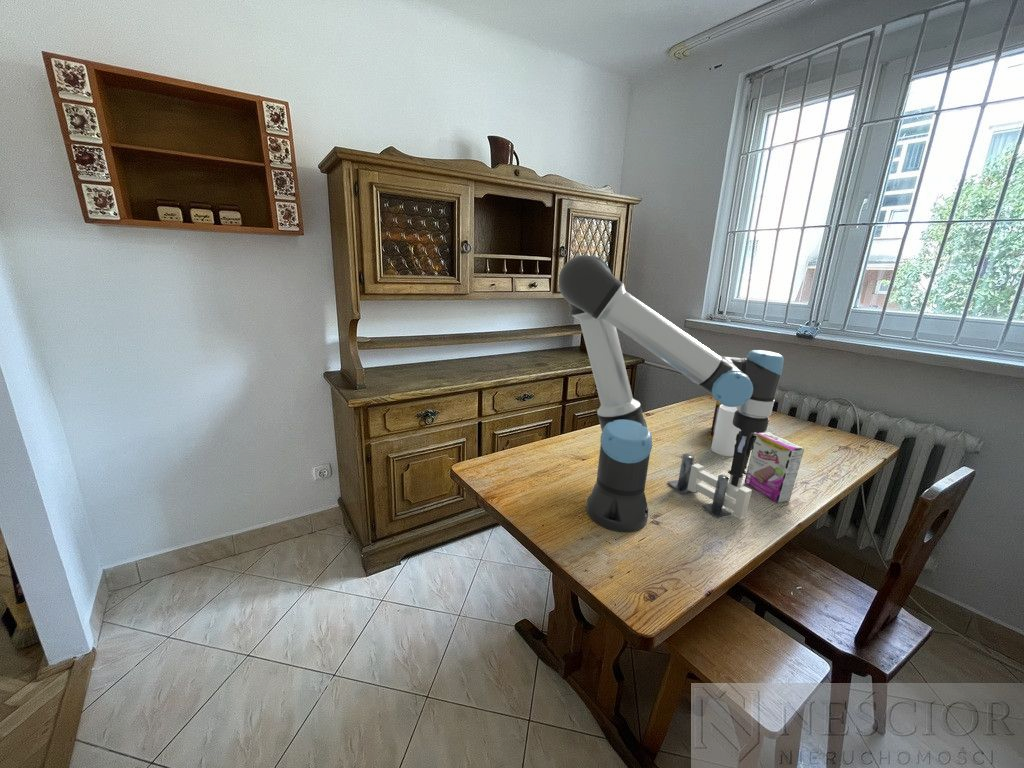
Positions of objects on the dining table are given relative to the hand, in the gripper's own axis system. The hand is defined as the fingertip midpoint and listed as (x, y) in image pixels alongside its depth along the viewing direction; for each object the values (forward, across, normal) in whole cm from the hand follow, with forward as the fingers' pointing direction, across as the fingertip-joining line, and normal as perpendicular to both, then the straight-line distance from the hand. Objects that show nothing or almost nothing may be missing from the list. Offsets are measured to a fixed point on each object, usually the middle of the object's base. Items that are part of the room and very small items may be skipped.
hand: (731, 495), depth 106 cm
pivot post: (+3, -1, -12) cm, 13 cm away
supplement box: (+3, -51, -12) cm, 53 cm away
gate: (+2, +2, -3) cm, 5 cm away
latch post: (+3, +5, -2) cm, 6 cm away
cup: (+3, -36, -10) cm, 38 cm away
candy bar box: (+3, -15, +6) cm, 17 cm away
